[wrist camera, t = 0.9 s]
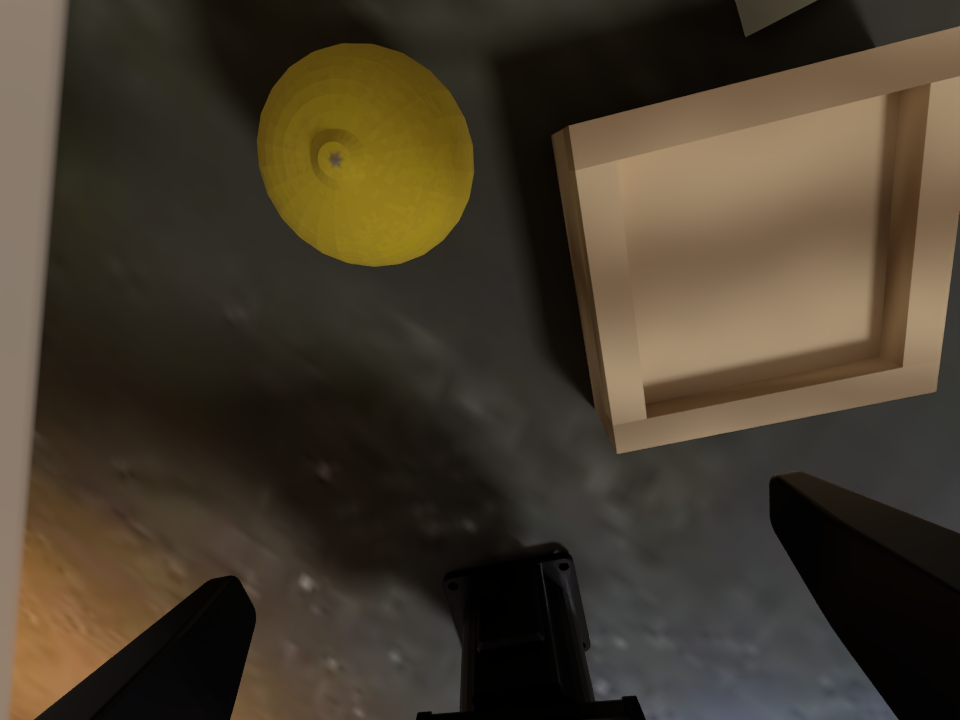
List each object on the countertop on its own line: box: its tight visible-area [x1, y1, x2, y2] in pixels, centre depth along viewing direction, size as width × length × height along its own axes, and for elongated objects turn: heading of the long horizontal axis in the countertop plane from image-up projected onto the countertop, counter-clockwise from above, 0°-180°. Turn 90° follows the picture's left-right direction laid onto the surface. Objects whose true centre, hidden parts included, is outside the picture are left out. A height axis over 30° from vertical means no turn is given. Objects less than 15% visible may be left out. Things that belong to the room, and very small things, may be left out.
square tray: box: [551, 26, 960, 454], centre depth 16 cm, size 11×11×4 cm
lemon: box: [257, 43, 474, 267], centre depth 13 cm, size 6×6×8 cm
